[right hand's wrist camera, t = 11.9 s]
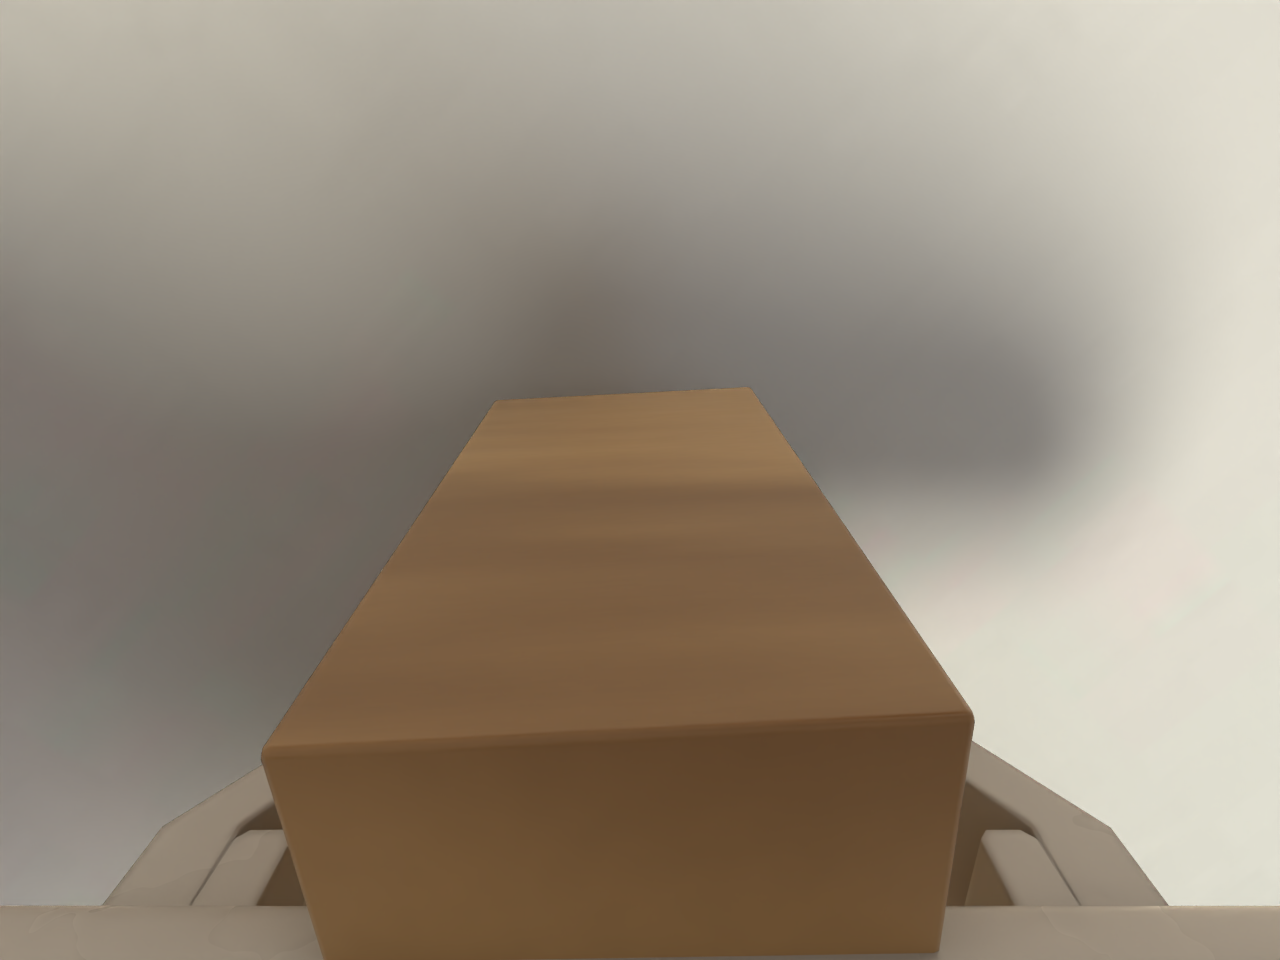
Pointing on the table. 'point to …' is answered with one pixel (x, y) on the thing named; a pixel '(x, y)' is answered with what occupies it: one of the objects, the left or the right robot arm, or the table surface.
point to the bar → (624, 710)
